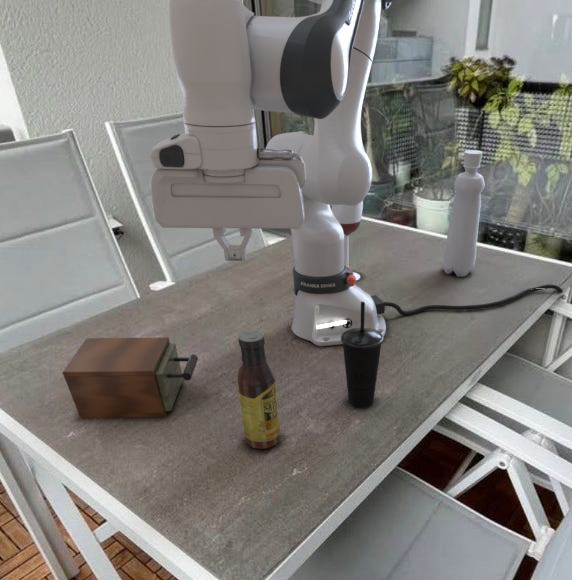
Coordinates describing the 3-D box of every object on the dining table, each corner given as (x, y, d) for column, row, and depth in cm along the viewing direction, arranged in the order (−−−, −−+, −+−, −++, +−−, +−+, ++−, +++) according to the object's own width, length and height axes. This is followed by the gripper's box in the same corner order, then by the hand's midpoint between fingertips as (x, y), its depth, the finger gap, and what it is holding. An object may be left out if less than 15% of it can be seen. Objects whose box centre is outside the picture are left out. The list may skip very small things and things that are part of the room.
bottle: (436, 273, 156) (449, 153, 136) (449, 263, 162) (463, 146, 142) (465, 280, 153) (483, 157, 133) (478, 270, 158) (497, 150, 138)
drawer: (205, 378, 111) (198, 342, 106) (194, 410, 103) (186, 373, 97) (111, 379, 111) (99, 343, 105) (92, 411, 102) (78, 374, 97)
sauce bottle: (274, 453, 95) (262, 349, 81) (240, 448, 96) (223, 344, 82) (285, 431, 99) (276, 329, 86) (253, 427, 100) (238, 325, 87)
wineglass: (367, 274, 155) (369, 197, 142) (350, 284, 150) (351, 205, 136) (343, 268, 158) (343, 193, 145) (326, 278, 153) (324, 200, 140)
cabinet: (179, 381, 112) (168, 337, 105) (165, 417, 103) (152, 371, 96) (101, 382, 112) (86, 337, 105) (80, 418, 102) (62, 372, 96)
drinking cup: (340, 391, 109) (339, 294, 96) (377, 390, 110) (382, 293, 97) (342, 413, 104) (342, 312, 90) (382, 411, 104) (387, 311, 91)
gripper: (305, 145, 72) (308, 252, 81) (149, 142, 72) (170, 251, 81) (303, 154, 68) (307, 268, 77) (136, 152, 67) (160, 266, 76)
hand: (236, 259), depth 79 cm, fingers closed
